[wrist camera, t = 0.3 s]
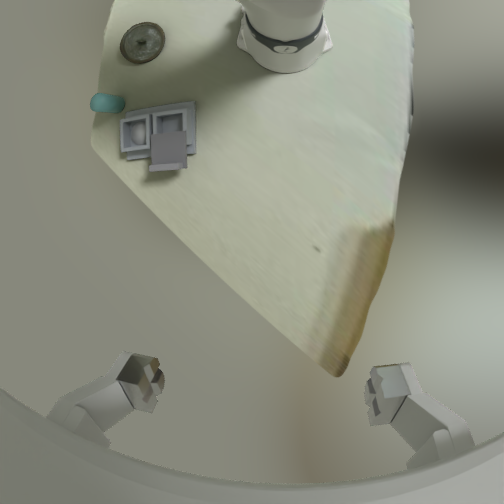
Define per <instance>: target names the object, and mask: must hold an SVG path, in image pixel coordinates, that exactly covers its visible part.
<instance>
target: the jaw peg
mask: <svg viewBox="0 0 504 504" xmlns="http://www.w3.org/2000/svg"><path fill="white" fill-rule="evenodd" d="M124 106H125V100H124V99H123V98H122V97H119V96H114V95H108V94H102V93H97V94H95V95H94V96H93V97H92V100H91V103H90V107H91V109H92V110H93V111H96V112H109V113H119V112H121V111H122V110H123V108H124Z"/></svg>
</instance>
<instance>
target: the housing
mask: <svg viewBox="0 0 504 504" xmlns="http://www.w3.org/2000/svg"><path fill="white" fill-rule="evenodd" d="M176 131H186V140H187V154H194V153H196V114H195V101H189V102H181V103H174V104H167V105H161V106H155V107H149V108H144V109H139V110H134V111H129V112H126V118H125V119H120V144H121V152H127V160H131V159H139V158H148V157H151V135H152V134H159V133H167V132H176Z"/></svg>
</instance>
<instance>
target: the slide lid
mask: <svg viewBox="0 0 504 504" xmlns="http://www.w3.org/2000/svg"><path fill="white" fill-rule="evenodd" d="M151 159H152V165H149V172H152V171H164V170H179V169H182V168H187V140H186V131H176V132H167V133H159V134H152V135H151Z"/></svg>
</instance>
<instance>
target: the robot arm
mask: <svg viewBox="0 0 504 504" xmlns="http://www.w3.org/2000/svg"><path fill="white" fill-rule="evenodd" d="M236 1H238V2H240V3H241V4H242V13H243V14H244V16H243V18H242V19H241V27H240V31H239V35H238V39H237V46H238V47H239V48H240V49H242V50H244V51H246V52H248V53H249V54H250V55H251V56H252V57H253V58H254V59H255V60H256V61H257V62H258V63H259V64H260V65H262V66H263V67H265V68H267V69H269V70H272V71H275V72H280V73H293V72H298V71H301V70H304V69H306V68H308V67H309V66H311V65H312V64H313V63H314V62H315V61H316V60H317V59H318V57H319V56H320V55H321V54H323V53H325V52H327V51H329V50H330V49H331V48H332V41H331V38H330V34H329V31H328V28H327V25H326V23H325V20H324V17H323V10H324V6H325V2H326V0H236ZM242 38H243V39H242ZM326 40H327V41H326ZM159 365H160V363H159V361H158V358H155V357H150V356H145V355H140V354H136V353H131V352H126V351H124V352H122V353H121V354H120V355H119V357H118V358H117V360H116V361H115V362H114V364H113V365H112V367H111V368H110V370H109V371H108V373H107V374H106V376H105V377H103V376H101V377H99V378H97V379H96V380H94V381H92V382H90V383H88V384H86V385H84V386H82V387H80V388H78V389H76V390H74V391H72V392H70V393H68V394H66V395H64V396H62V397H60V398H59V400H58V401H57V402H56V404H55V405H54V407H53V408H52V410H51V411H50V413H49V414H48V416H47V417H44V416H43V415H41V414H39V413H38V412H36V411H35V410H33V409H31V408H30V407H28V406H27V405H25V404H24V403H22V402H21V401H20V400H18V399H16V398H15V397H14V396H12V395H11V394H10V393H8V392H7V391H6V390H5V389H3V388H2V387H0V504H504V432H503V433H501V434H499V435H497V436H495V437H493V438H491V439H489V440H487V441H485V442H483V443H481V444H479V445H476V446H475V444H474V441H473V438H472V436H471V433H470V431H469V428H468V425H467V423H466V421H465V420H464V419H463V418H461V417H460V416H458V415H457V414H456V413H454V412H453V411H451V410H450V409H449V408H447V407H446V406H445V405H443V404H442V403H440V402H439V401H438V400H436V399H435V398H434V397H432V396H431V395H429V394H428V393H426V392H424V393H423V391H422V389H421V387H420V384H419V382H418V379H417V377H416V375H415V372H414V370H413V368H412V365H411V364H410V363H409V362H407V363H400V364H391V365H383V366H374V367H373V368H372V369H371V371H370V376H371V378H370V379H369V380H368V381H367V382H366V386H365V393H364V394H365V402H366V404H367V405H368V406H369V407H370V408H369V411H368V417H369V422H370V426H374V425H382V424H390V423H391V426H392V427H393V428H394V429H395V430H396V431H397V432H398V433H399V434H400V435H401V436H402V437H403V439H404V440H405V441H406V442H407V443H408V444H409V445H410V446H411V447H412V448H413V449H414V450H415V451H416V453H415V454H414V455H413V456H412V458H410V459H409V461H408V462H407V464H406V465H407V470H404V471H400V472H395V473H391V474H386V475H381V476H376V477H370V478H364V479H358V480H349V481H340V482H329V483H313V484H271V483H269V484H268V483H253V482H243V481H234V480H226V479H219V478H212V477H207V476H201V475H196V474H191V473H186V472H182V471H178V470H174V469H169V468H166V467H162V466H158V465H155V464H152V463H148V462H145V461H142V460H139V459H135V458H133V457H130V456H127V455H124V454H122V453H119V452H116V451H114V450H111V449H109V446H110V444H111V442H110V440H109V439H108V438H107V437H106V435H105V434H104V432H105V431H106V430H108V429H109V428H111V427H112V426H113V425H115V424H116V423H117V422H118V421H120V420H122V419H123V418H124V417H126V416H127V415H128V414H130V413H131V412H132V411H134V409H136V410H140V411H145V412H149V413H153V410H154V408H155V406H156V404H157V402H158V400H157V397H156V396H158V395H159V394H161V393H162V391H163V388H164V383H165V380H164V379H165V378H164V374H163V372H162V371H161V370H160V369H159V368H158V367H159Z"/></svg>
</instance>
